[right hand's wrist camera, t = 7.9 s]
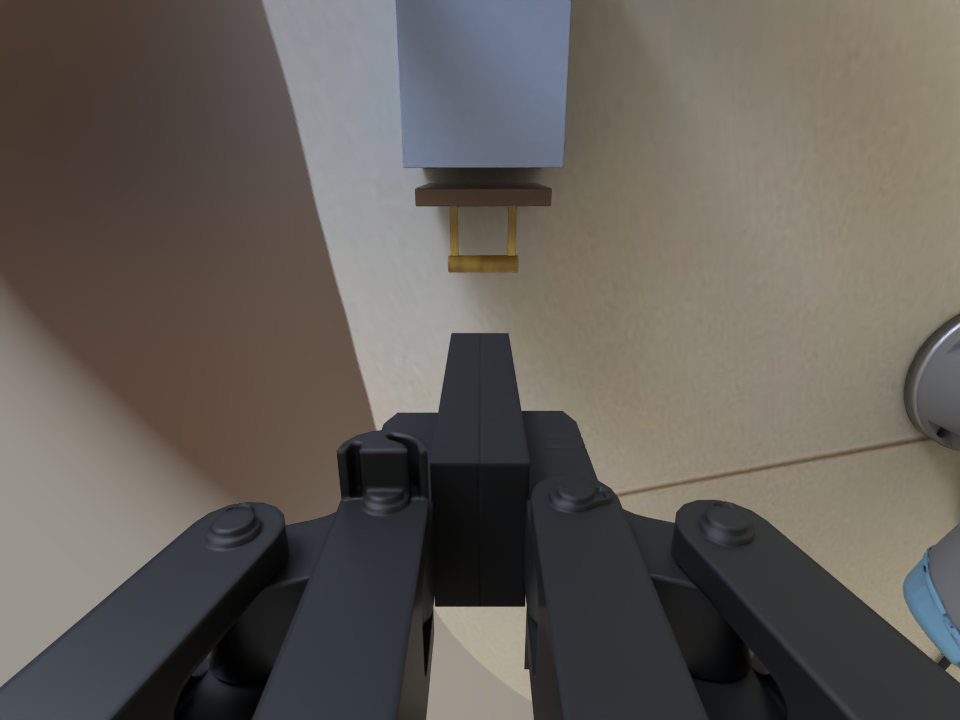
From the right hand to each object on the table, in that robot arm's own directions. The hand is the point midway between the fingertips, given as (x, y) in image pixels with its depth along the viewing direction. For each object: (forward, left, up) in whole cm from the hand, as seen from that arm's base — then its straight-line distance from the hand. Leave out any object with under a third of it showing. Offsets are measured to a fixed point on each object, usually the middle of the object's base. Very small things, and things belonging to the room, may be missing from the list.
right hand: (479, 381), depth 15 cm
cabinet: (+15, -1, -37) cm, 39 cm away
